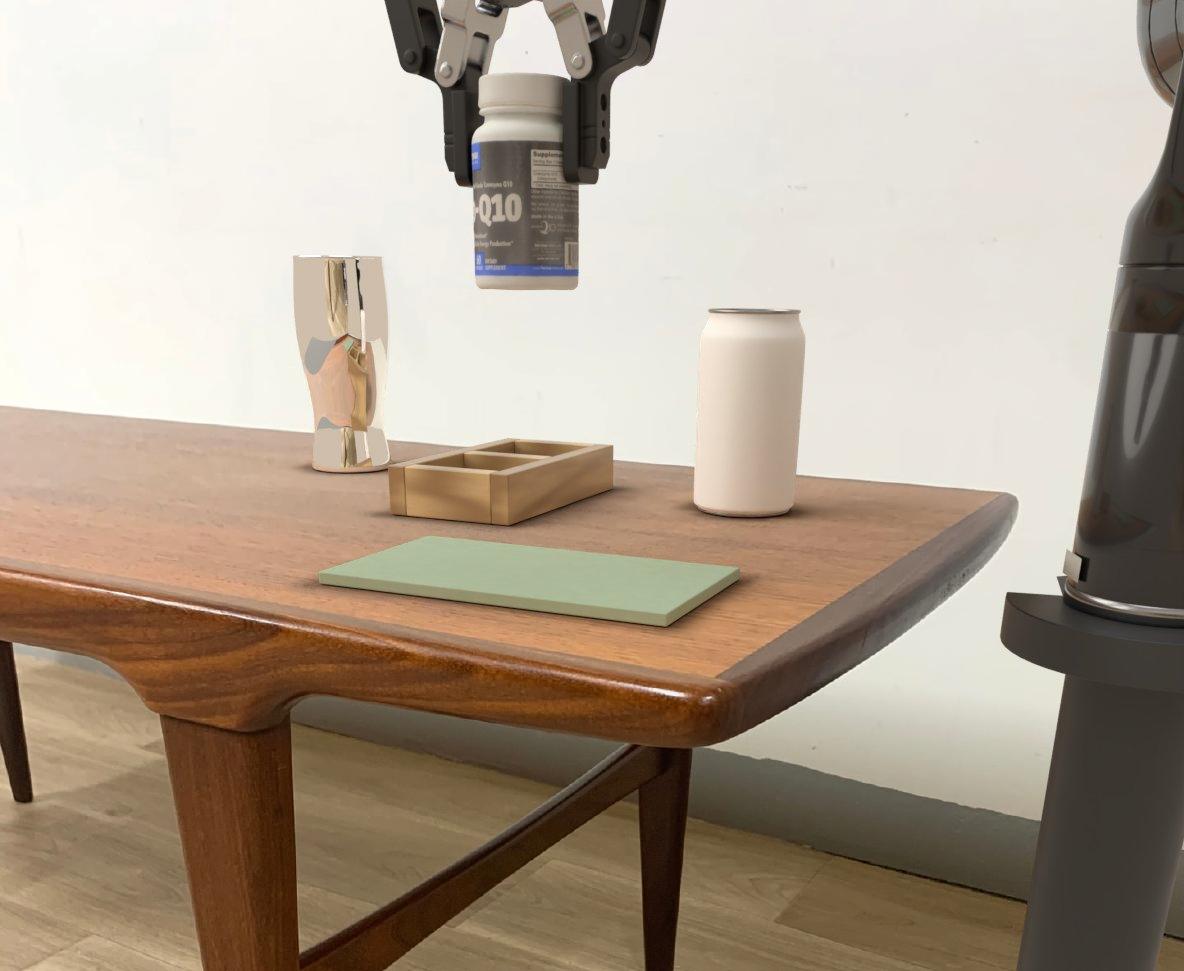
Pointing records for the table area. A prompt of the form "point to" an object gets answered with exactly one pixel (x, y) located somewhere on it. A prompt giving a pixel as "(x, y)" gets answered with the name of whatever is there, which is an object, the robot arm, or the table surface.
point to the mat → (538, 579)
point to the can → (748, 411)
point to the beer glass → (344, 357)
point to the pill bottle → (523, 186)
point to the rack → (500, 480)
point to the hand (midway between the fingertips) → (525, 183)
